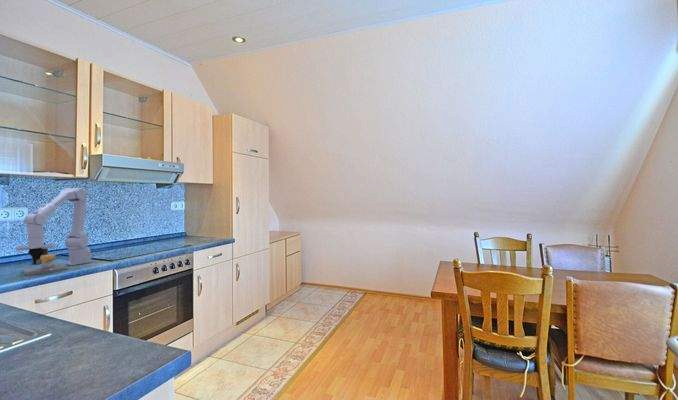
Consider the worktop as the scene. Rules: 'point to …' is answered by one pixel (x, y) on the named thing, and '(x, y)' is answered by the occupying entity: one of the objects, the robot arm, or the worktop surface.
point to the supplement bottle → (42, 254)
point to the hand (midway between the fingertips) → (36, 263)
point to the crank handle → (45, 258)
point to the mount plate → (44, 268)
